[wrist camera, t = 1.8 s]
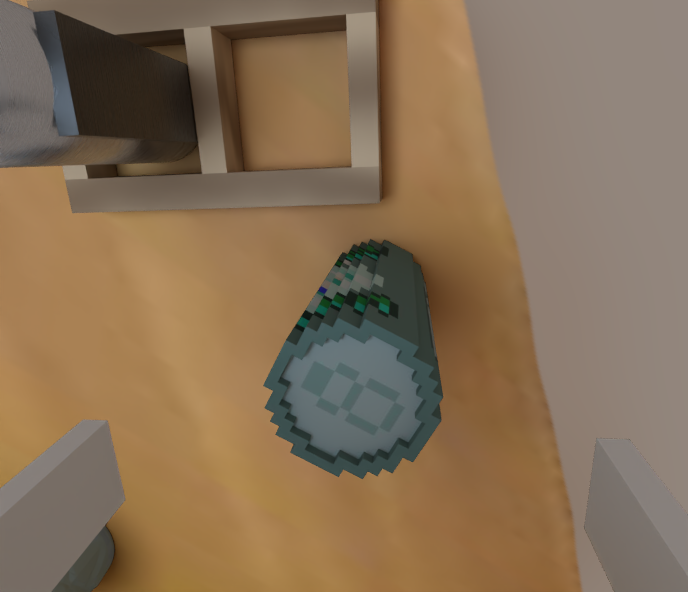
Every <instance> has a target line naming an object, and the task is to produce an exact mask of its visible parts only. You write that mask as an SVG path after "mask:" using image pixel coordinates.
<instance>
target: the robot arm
mask: <svg viewBox="0 0 688 592" xmlns="http://www.w3.org/2000/svg"><path fill="white" fill-rule="evenodd" d="M124 501H125V496H124V491H123V487H122V482H121V478H120V474H119V469H118V465H117V460H116V456H115V451H114V447H113V443H112V438H111V434H110V429H109V425H108V421H105V420H82V421H81V422H80V423H79V424H77V425H76V426H75V427H74V428H73V429H71V430H70V431H69V432H68V433H67V434H65V435H64V436H63V437H62V438H60V439H59V440H58V441H57V442H56V443H54V444H53V445H52V446H51V447H50V448H48V449H47V450H46V451H45V452H44V453H42V454H41V455H40V456H39V457H38V458H36V459H35V460H34V461H33V462H32V463H30V464H29V465H28V466H27V467H26V468H24V469H23V470H22V471H21V472H20V473H18V474H17V475H16V476H15V477H14V478H12V479H11V480H10V481H9V482H8V483H6V484H5V485H4V486H3V487H2V488H0V592H52V590H53V589H54V588H55V587H56V585H57V584H58V583H59V582H60V580H61V579H62V578H63V577H64V575H65V574H66V573H67V572H68V570H69V569H70V568H71V567H72V566H73V564H74V563H75V562H76V561H77V559H78V558H79V557H80V556H81V554H82V553H83V552H84V551H85V549H86V548H87V547H88V546H89V544H90V543H91V542H92V541H93V539H94V538H95V537H96V536H97V535H98V533H99V532H100V531H101V530H102V528H103V527H104V526H105V525H106V523H107V522H108V521H109V520H110V518H111V517H112V516H113V515H114V513H115V512H116V511H117V510H118V508H119V507H120V506H121V505H122V504H123V502H124ZM584 529H585V531H586V533H587V535H588V537H589V539H590V541H591V543H592V546H593V548H594V550H595V552H596V554H597V556H598V558H599V560H600V563H601V565H602V567H603V569H604V571H605V573H606V576H607V578H608V580H609V582H610V584H611V586H612V588H613V590H614V592H688V514H687V513H686V512H685V510H684V509H683V508H682V507H681V505H680V504H679V503H678V501H677V500H676V499H675V497H674V496H673V495H672V493H671V492H670V491H669V490H668V488H667V487H666V486H665V485H664V483H663V482H662V480H661V479H660V478H659V477H658V475H657V474H656V473H655V471H654V470H653V469H652V468H651V466H650V465H649V464H648V462H647V461H646V460H645V458H644V457H643V456H642V455H641V453H640V452H639V451H638V449H637V448H636V447H635V445H634V444H633V443H632V442H631V440H630V439H605V438H596V445H595V452H594V459H593V467H592V474H591V482H590V489H589V497H588V503H587V511H586V518H585V525H584Z"/></svg>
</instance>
